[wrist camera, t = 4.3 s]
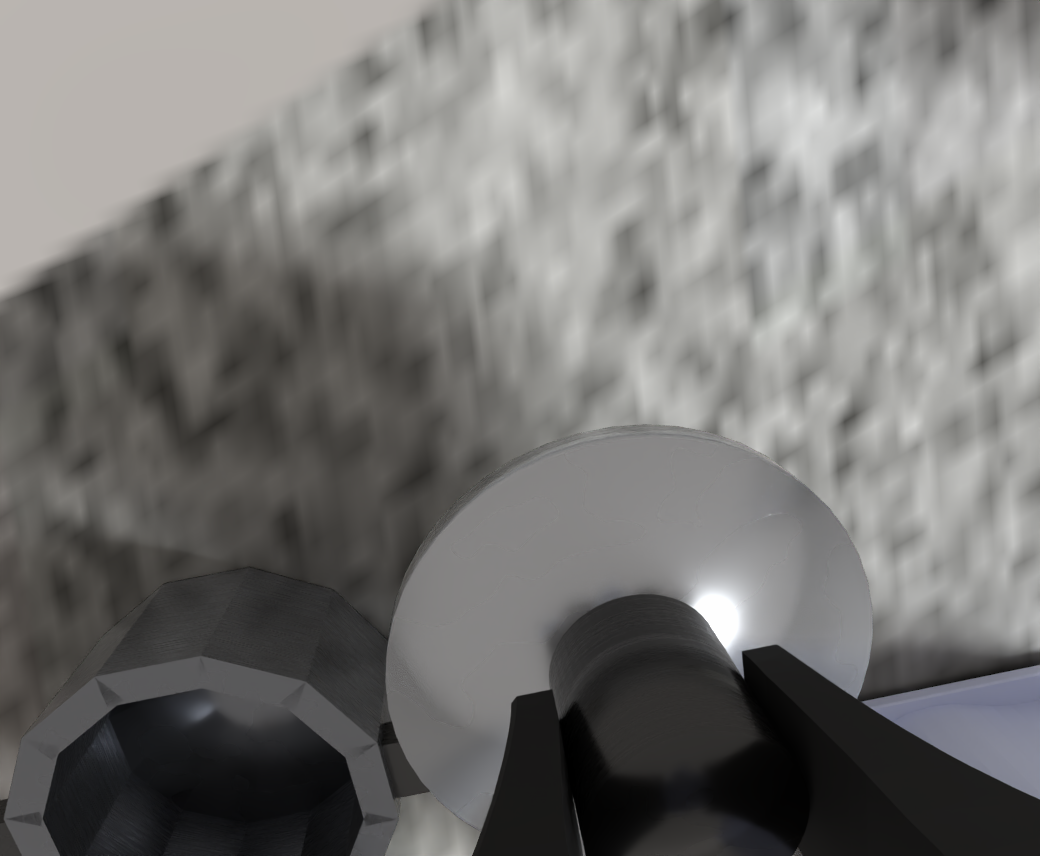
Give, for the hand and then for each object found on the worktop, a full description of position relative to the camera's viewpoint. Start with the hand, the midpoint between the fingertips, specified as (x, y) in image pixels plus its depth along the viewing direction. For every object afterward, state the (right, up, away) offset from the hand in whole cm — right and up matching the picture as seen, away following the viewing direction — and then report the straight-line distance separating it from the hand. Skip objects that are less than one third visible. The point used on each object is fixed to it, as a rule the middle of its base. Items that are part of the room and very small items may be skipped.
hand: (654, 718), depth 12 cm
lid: (0, +1, +2) cm, 2 cm away
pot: (-10, -3, +9) cm, 14 cm away
